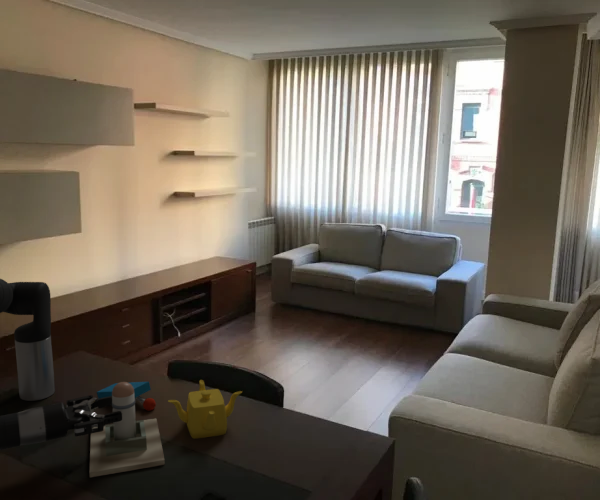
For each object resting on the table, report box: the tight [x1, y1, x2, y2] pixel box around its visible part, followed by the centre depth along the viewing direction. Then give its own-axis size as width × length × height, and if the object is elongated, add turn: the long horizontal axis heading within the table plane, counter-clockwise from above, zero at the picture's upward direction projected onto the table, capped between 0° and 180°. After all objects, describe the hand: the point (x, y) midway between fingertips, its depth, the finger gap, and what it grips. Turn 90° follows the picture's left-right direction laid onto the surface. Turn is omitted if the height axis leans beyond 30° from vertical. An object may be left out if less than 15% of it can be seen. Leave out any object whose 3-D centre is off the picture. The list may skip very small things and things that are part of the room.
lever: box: [96, 381, 157, 412], centre depth 154 cm, size 7×7×18 cm
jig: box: [89, 417, 166, 478], centre depth 131 cm, size 20×16×4 cm
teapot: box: [167, 379, 243, 440], centre depth 141 cm, size 15×14×10 cm
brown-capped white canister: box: [111, 381, 137, 441], centre depth 129 cm, size 5×5×16 cm
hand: (117, 407), depth 129 cm, fingers open, 8 cm apart
